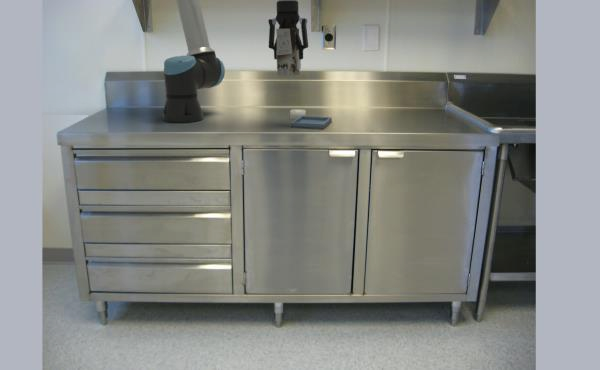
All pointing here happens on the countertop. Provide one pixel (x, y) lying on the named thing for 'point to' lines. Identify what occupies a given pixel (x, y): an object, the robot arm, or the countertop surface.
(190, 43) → the robot arm
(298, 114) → the white small block
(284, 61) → the coffee box
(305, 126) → the tray
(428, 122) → the countertop surface
